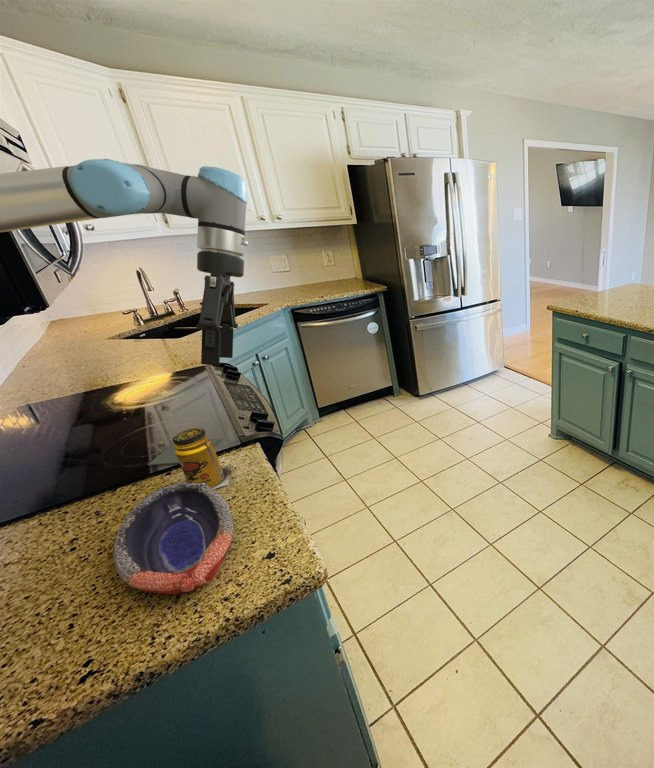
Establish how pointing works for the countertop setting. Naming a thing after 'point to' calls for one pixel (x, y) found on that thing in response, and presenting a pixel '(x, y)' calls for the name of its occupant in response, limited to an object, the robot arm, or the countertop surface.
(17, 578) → the countertop surface
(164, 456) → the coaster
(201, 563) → the dish
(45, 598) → the countertop surface
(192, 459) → the condiment
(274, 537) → the countertop surface
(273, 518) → the countertop surface
